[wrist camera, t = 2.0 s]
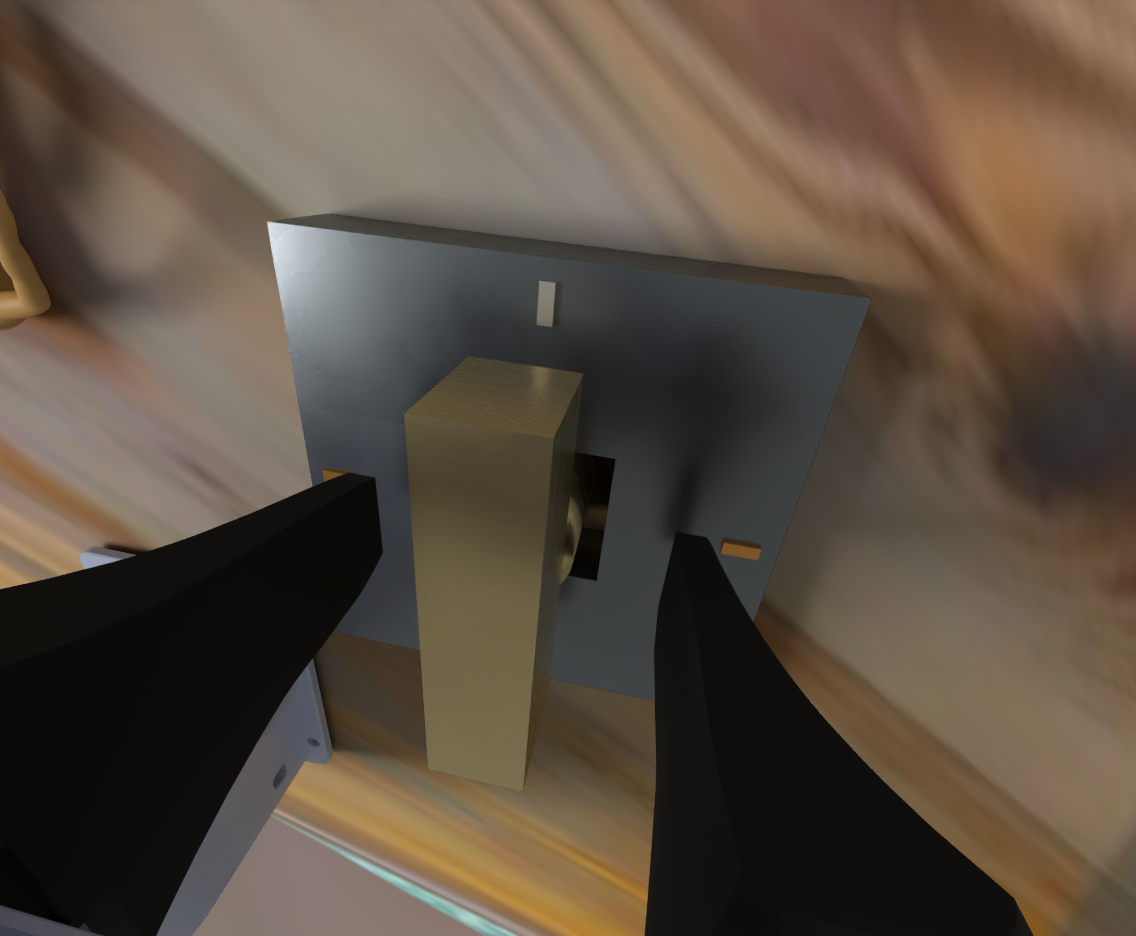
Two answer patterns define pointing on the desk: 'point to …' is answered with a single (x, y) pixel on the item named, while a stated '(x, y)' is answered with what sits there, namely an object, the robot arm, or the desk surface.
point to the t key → (492, 555)
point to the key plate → (607, 410)
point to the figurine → (17, 276)
